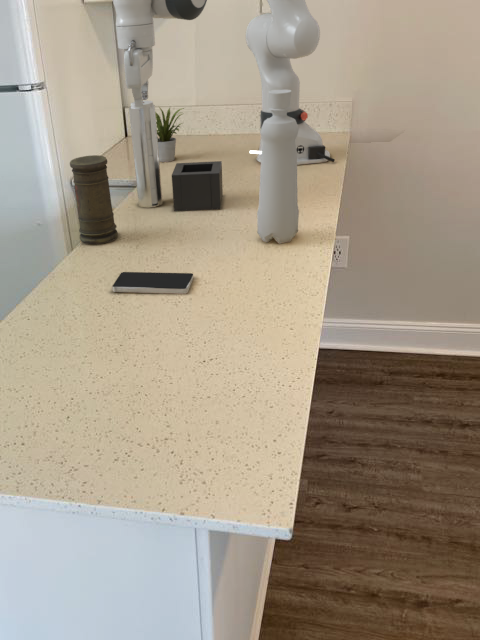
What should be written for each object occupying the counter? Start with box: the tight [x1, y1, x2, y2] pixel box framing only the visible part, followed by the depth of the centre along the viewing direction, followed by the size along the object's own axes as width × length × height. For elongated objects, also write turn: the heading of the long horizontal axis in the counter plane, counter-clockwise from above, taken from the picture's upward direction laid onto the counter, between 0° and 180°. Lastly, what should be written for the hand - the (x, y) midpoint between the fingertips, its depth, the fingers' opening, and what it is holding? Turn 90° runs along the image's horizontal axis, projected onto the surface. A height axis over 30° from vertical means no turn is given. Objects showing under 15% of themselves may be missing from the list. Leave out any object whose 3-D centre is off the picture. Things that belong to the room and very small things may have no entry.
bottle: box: [256, 90, 300, 244], centre depth 143 cm, size 9×9×30 cm
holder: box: [171, 160, 224, 212], centre depth 175 cm, size 12×12×9 cm
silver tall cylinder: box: [128, 100, 163, 209], centre depth 173 cm, size 6×6×25 cm
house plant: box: [155, 106, 185, 163], centre depth 214 cm, size 14×14×16 cm
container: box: [69, 154, 119, 246], centre depth 155 cm, size 9×9×18 cm
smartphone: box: [111, 271, 194, 295], centre depth 134 cm, size 8×1×15 cm
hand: (142, 103), depth 166 cm, fingers open, 8 cm apart
